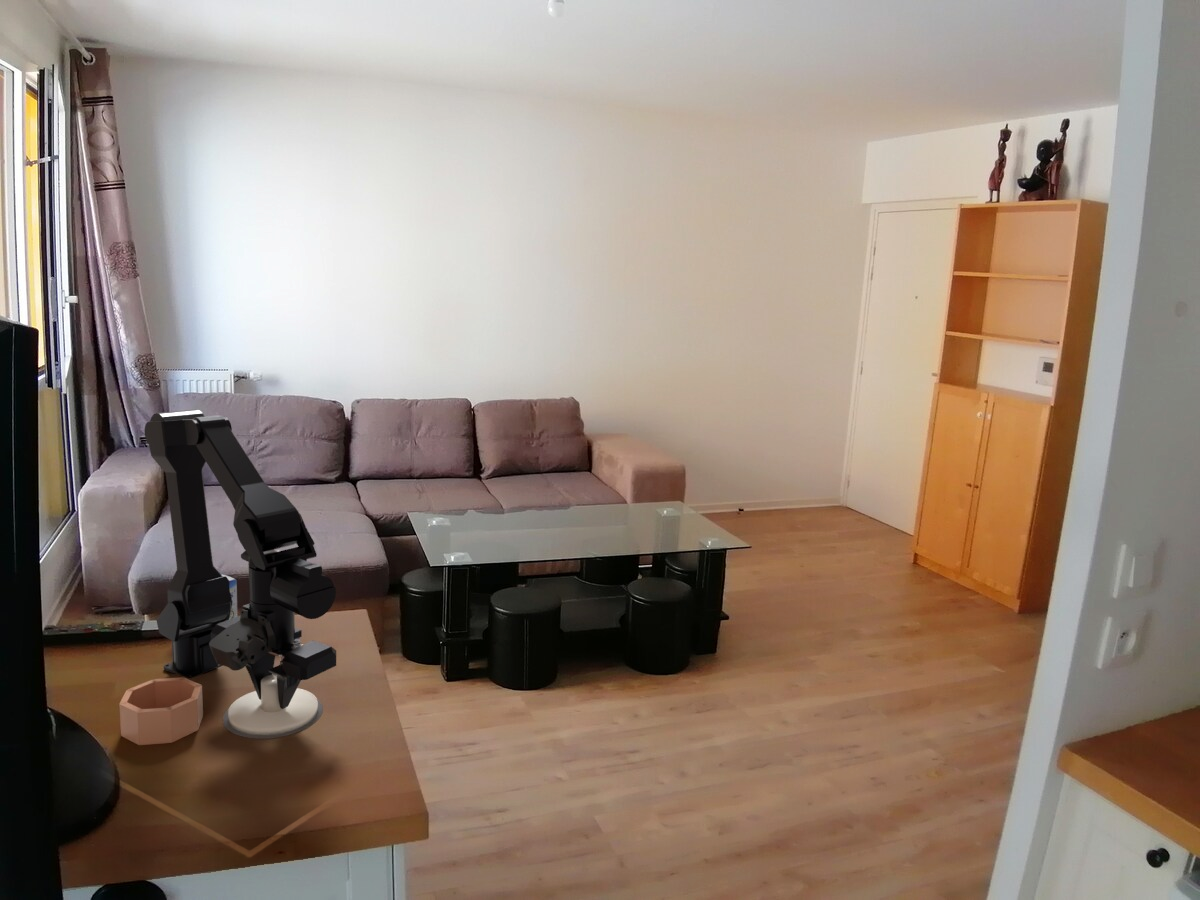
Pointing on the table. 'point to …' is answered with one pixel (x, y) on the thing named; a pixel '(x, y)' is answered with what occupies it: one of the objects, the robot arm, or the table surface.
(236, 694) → the table surface
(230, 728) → the mat
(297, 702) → the lid
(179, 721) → the bowl
